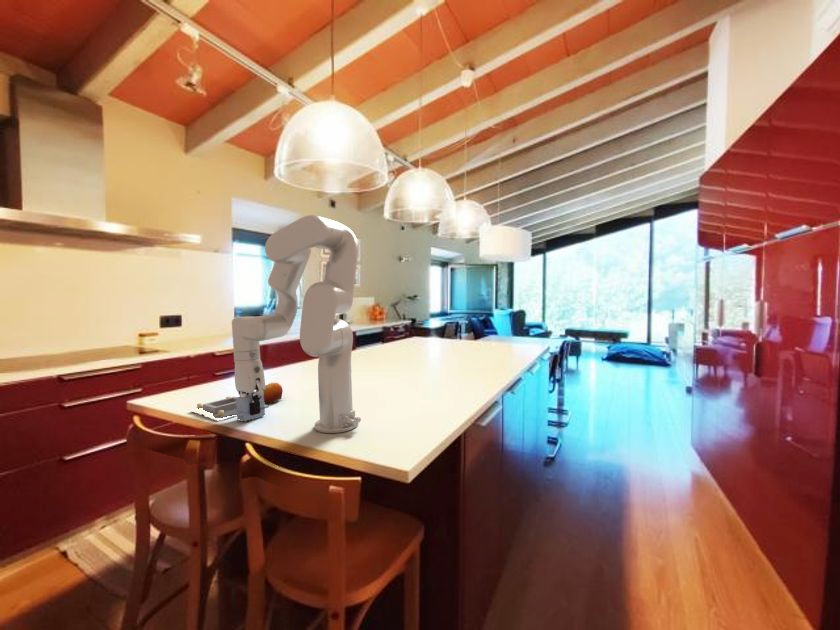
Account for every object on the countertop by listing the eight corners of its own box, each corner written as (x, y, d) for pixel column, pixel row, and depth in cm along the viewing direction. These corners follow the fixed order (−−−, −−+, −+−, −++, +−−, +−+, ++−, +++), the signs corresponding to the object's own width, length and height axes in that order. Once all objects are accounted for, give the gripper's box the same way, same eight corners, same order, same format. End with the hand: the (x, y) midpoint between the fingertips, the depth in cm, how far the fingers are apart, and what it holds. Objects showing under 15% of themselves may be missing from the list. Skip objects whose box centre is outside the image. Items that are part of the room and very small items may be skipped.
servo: (269, 414, 127) (267, 389, 126) (239, 423, 119) (237, 397, 118) (262, 412, 129) (260, 388, 128) (232, 421, 121) (230, 395, 120)
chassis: (259, 409, 133) (259, 400, 133) (218, 421, 122) (217, 412, 122) (231, 401, 144) (230, 393, 143) (191, 411, 132) (190, 403, 132)
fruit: (283, 400, 138) (270, 381, 138) (265, 412, 139) (252, 393, 138) (291, 394, 146) (279, 376, 146) (273, 405, 147) (262, 387, 146)
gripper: (273, 355, 121) (277, 413, 122) (243, 352, 130) (247, 406, 132) (251, 359, 115) (255, 420, 116) (221, 356, 124) (225, 412, 126)
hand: (251, 412), depth 124 cm, fingers closed on servo, 4 cm apart
